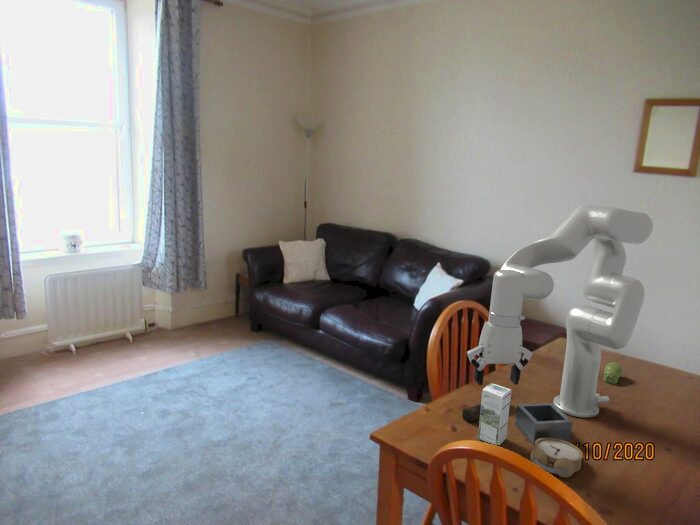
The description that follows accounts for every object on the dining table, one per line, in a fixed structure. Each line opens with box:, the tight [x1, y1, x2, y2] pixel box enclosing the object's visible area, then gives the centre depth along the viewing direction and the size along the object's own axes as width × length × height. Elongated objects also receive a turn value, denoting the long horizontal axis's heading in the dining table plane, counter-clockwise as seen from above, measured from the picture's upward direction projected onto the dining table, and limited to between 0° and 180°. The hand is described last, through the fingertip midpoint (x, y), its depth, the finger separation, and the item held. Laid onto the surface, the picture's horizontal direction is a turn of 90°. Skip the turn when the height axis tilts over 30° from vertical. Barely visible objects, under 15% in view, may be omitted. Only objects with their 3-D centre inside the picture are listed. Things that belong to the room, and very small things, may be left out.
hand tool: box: [461, 403, 481, 424], centre depth 150 cm, size 19×4×5 cm, turn 123°
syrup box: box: [477, 382, 512, 446], centre depth 136 cm, size 6×6×14 cm
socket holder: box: [514, 402, 574, 445], centre depth 140 cm, size 10×10×6 cm
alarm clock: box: [530, 438, 584, 478], centre depth 127 cm, size 11×5×15 cm
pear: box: [603, 361, 624, 385], centre depth 177 cm, size 6×5×10 cm
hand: (496, 382), depth 133 cm, fingers open, 9 cm apart
